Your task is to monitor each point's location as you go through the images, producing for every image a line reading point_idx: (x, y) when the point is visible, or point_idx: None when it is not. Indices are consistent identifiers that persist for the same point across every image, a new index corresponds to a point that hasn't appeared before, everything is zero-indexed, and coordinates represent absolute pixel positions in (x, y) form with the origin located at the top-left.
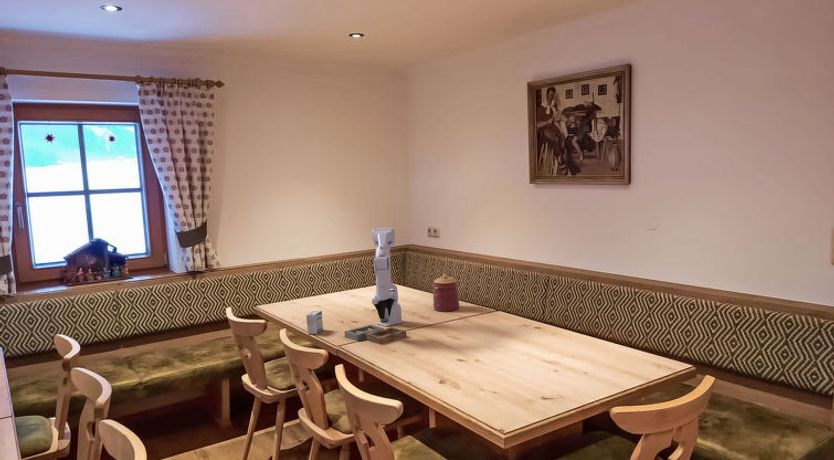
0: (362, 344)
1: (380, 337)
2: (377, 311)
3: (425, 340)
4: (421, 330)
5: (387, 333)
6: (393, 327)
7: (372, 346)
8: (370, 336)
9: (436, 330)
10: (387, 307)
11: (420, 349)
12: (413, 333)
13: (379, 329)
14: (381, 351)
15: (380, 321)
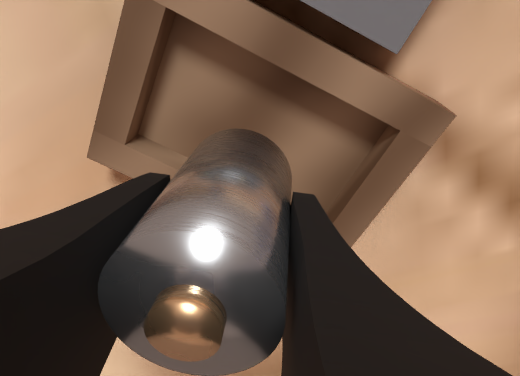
0: (40, 11)
1: (111, 160)
2: (60, 214)
3: (279, 346)
4: (498, 282)
5: (339, 105)
6: (435, 138)
7: (47, 118)
8: (117, 44)
9: (494, 352)
10: (220, 370)
11: (138, 357)
12: (415, 259)
13: (344, 24)
14: (7, 213)
15: (197, 146)
